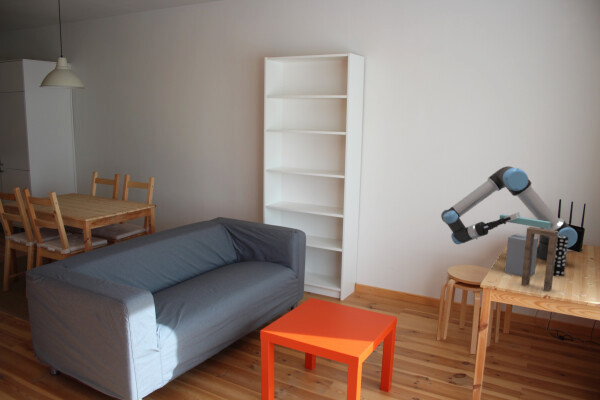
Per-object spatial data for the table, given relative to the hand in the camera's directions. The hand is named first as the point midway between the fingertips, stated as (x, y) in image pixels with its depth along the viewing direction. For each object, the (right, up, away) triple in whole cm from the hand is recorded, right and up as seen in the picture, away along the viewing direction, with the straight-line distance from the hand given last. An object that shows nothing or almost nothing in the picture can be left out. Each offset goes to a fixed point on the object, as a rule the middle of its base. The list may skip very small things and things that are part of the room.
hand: (518, 215), depth 242 cm
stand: (0, -34, -19) cm, 39 cm away
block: (+2, -30, +3) cm, 30 cm away
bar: (+2, -5, -2) cm, 5 cm away
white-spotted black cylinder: (+20, -31, +2) cm, 37 cm away
